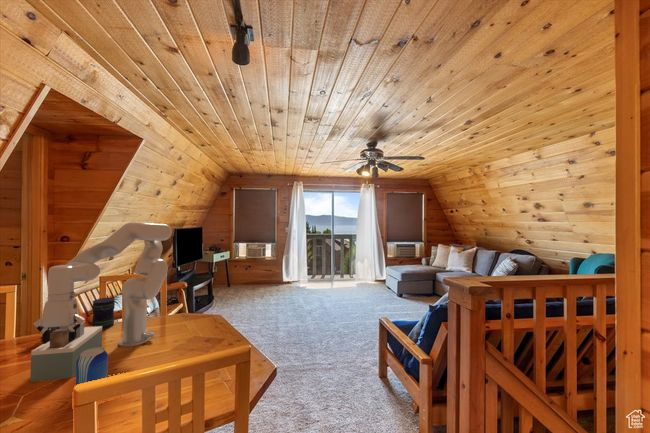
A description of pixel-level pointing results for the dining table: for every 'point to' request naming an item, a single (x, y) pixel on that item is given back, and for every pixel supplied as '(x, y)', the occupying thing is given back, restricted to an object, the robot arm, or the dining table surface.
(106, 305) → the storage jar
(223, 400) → the dining table surface
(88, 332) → the lid
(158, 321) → the dining table surface
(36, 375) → the toolbox
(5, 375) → the dining table surface
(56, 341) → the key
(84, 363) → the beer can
